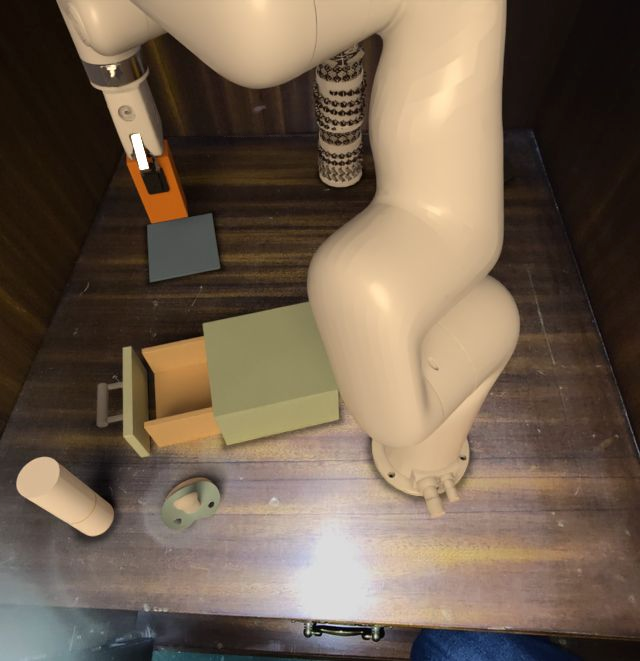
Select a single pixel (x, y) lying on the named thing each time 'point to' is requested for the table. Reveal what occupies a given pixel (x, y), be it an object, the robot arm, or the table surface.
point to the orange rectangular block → (161, 203)
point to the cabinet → (269, 373)
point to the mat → (182, 247)
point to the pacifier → (190, 503)
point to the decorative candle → (340, 116)
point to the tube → (64, 496)
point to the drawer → (163, 396)
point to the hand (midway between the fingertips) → (158, 180)
